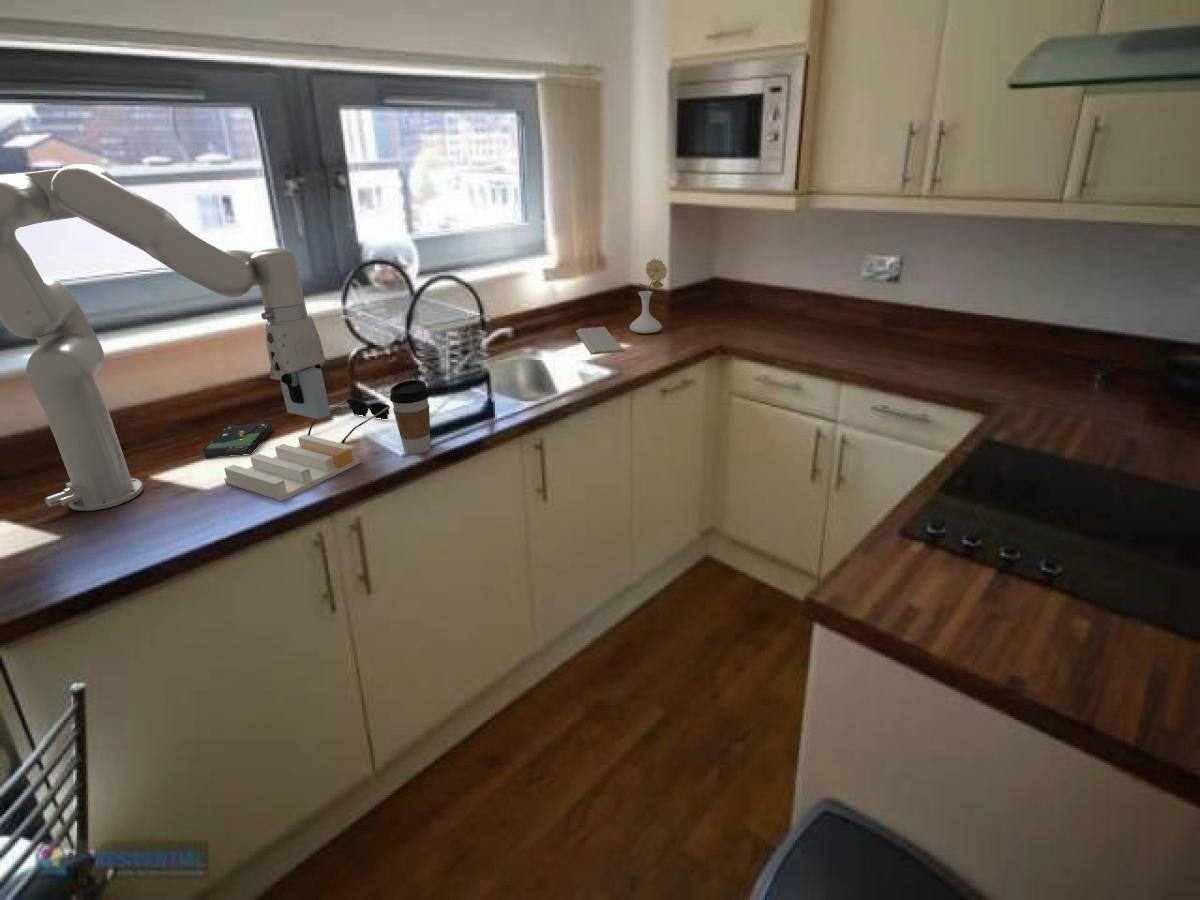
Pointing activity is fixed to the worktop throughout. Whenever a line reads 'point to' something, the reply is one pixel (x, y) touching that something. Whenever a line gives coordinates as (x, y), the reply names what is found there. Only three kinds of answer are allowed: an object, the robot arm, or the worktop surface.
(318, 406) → the panel
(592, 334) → the baseboard
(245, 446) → the disk drive
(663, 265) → the flower in vase
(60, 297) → the robot arm
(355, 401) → the sunglasses
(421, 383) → the coffee cup
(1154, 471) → the worktop surface
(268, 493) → the rack
